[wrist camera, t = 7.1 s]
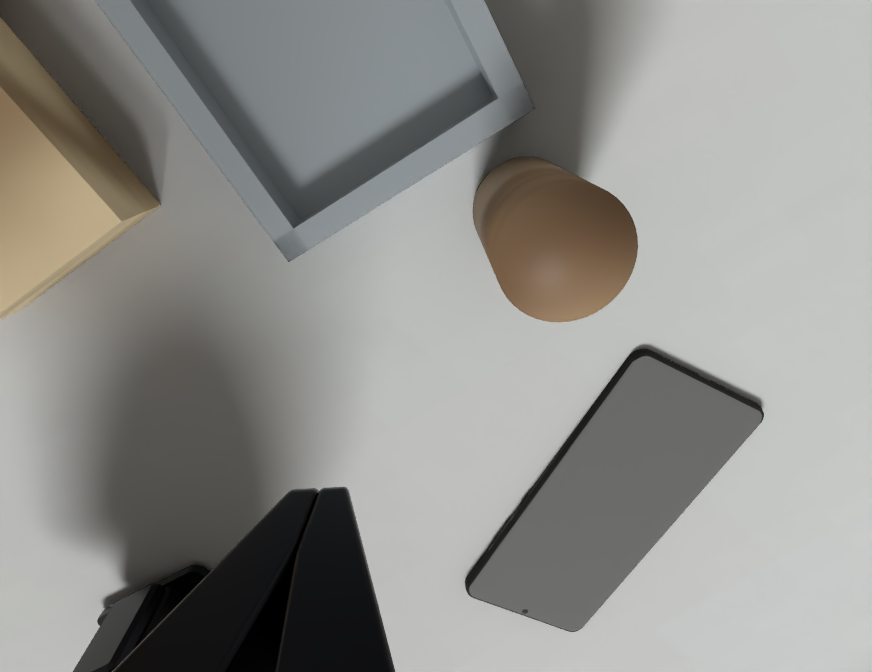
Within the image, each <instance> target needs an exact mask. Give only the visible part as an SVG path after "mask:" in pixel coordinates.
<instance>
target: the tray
mask: <svg viewBox="0 0 872 672" xmlns="http://www.w3.org/2000/svg"><path fill="white" fill-rule="evenodd" d="M95 2H96V3H97V4H98V6H99V7H100V8H101V10H102V11H103V12H104V14H105V15H106V16H107V18H108V19H109V21H110V22H111V23H112V25H113V26H114V27H115V29H116V30H117V31H118V33H119V34H120V35H121V37H122V38H123V39H124V41H125V42H126V43H127V45H128V46H129V47H130V49H131V50H132V52H133V53H134V54H135V56H136V57H137V58H138V60H139V61H140V62H141V64H142V65H143V66H144V68H145V69H146V70H147V72H148V73H149V74H150V76H151V77H152V79H153V80H154V81H155V83H156V84H157V85H158V87H159V88H160V89H161V91H162V92H163V93H164V95H165V96H166V97H167V99H168V100H169V101H170V103H171V104H172V106H173V107H174V108H175V110H176V111H177V112H178V114H179V115H180V116H181V118H182V119H183V120H184V122H185V123H186V124H187V126H188V127H189V128H190V130H191V131H192V132H193V134H194V135H195V137H196V138H197V139H198V141H199V142H200V143H201V145H202V146H203V147H204V149H205V150H206V151H207V153H208V154H209V155H210V157H211V158H212V159H213V161H214V162H215V164H216V165H217V166H218V168H219V169H220V170H221V172H222V173H223V174H224V176H225V177H226V178H227V180H228V181H229V182H230V184H231V185H232V186H233V188H234V189H235V190H236V192H237V193H238V195H239V196H240V197H241V199H242V200H243V201H244V203H245V204H246V205H247V207H248V208H249V209H250V211H251V212H252V213H253V215H254V216H255V217H256V219H257V220H258V222H259V223H260V224H261V226H262V227H263V228H264V230H265V231H266V232H267V234H268V235H269V236H270V238H271V239H272V240H273V242H274V243H275V244H276V246H277V247H278V248H279V250H280V251H281V253H282V254H283V255H284V257H285V258H286V259H287V261H288V262H290V261H291V260H293V259H294V258H296V257H298V256H299V255H301V254H302V253H304V252H306V251H307V250H309V249H311V248H312V247H314V246H315V245H317V244H319V243H320V242H322V241H323V240H325V239H327V238H328V237H330V236H331V235H333V234H335V233H336V232H338V231H339V230H341V229H343V228H344V227H346V226H347V225H349V224H351V223H352V222H354V221H355V220H357V219H359V218H360V217H362V216H363V215H365V214H367V213H368V212H370V211H372V210H373V209H375V208H376V207H378V206H380V205H381V204H383V203H384V202H386V201H388V200H389V199H391V198H392V197H394V196H396V195H397V194H399V193H400V192H402V191H404V190H405V189H407V188H408V187H410V186H412V185H413V184H415V183H416V182H418V181H420V180H421V179H423V178H424V177H426V176H428V175H429V174H431V173H433V172H434V171H436V170H437V169H439V168H441V167H442V166H444V165H445V164H447V163H449V162H450V161H452V160H453V159H455V158H457V157H458V156H460V155H461V154H463V153H465V152H466V151H468V150H469V149H471V148H473V147H474V146H476V145H477V144H479V143H481V142H482V141H484V140H486V139H487V138H489V137H490V136H492V135H494V134H495V133H497V132H498V131H500V130H502V129H503V128H505V127H506V126H508V125H510V124H511V123H513V122H514V121H516V120H518V119H519V118H521V117H522V116H524V115H526V114H527V113H529V112H530V111H532V110H534V109H535V107H534V105H533V103H532V101H531V98H530V96H529V94H528V92H527V90H526V88H525V86H524V84H523V81H522V79H521V77H520V75H519V73H518V71H517V69H516V67H515V64H514V62H513V60H512V58H511V56H510V54H509V52H508V50H507V47H506V45H505V43H504V41H503V39H502V37H501V35H500V33H499V30H498V28H497V26H496V24H495V22H494V20H493V18H492V16H491V13H490V11H489V9H488V7H487V5H486V3H485V1H484V0H95Z"/></svg>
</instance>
